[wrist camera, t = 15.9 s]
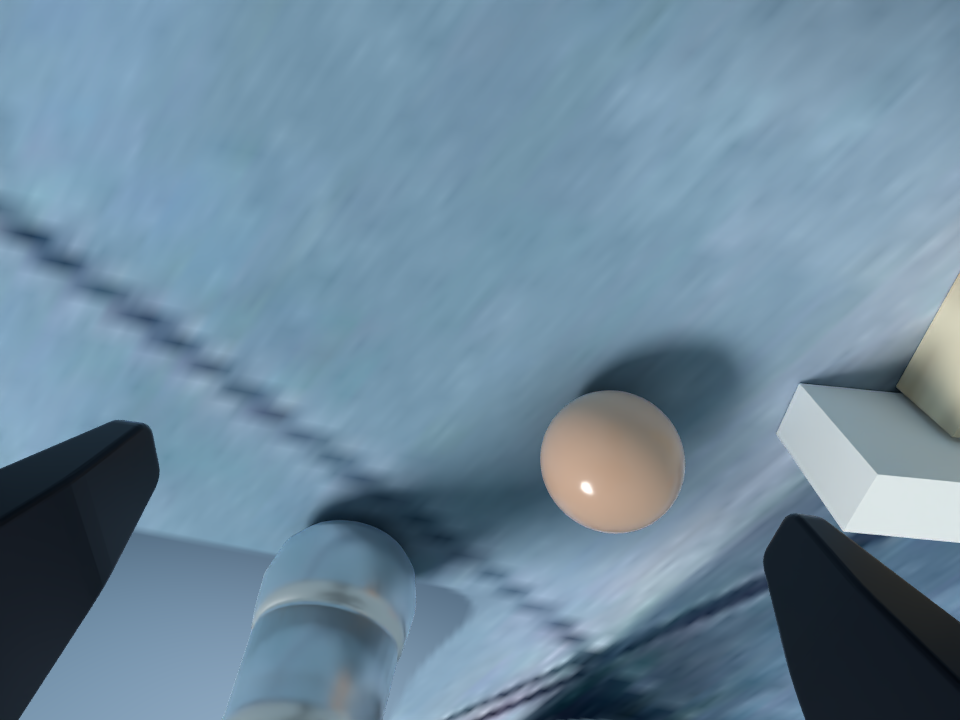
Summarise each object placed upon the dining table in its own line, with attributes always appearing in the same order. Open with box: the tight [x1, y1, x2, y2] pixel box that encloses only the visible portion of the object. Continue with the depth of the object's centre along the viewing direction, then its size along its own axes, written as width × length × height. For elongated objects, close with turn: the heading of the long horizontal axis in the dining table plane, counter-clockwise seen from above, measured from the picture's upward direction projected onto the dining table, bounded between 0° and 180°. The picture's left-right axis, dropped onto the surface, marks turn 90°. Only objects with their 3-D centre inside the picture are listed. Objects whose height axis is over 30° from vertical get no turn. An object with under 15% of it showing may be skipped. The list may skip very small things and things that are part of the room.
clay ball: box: [540, 390, 685, 534], centre depth 20 cm, size 5×5×5 cm
